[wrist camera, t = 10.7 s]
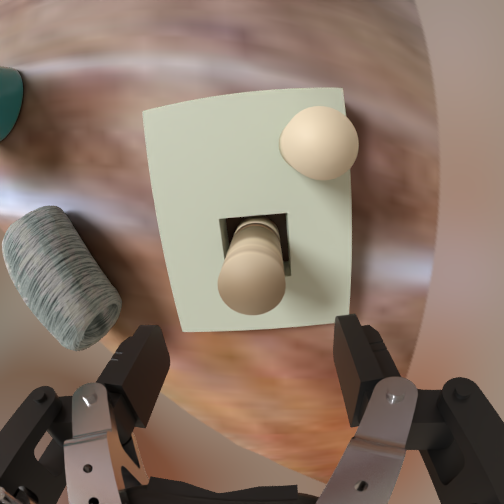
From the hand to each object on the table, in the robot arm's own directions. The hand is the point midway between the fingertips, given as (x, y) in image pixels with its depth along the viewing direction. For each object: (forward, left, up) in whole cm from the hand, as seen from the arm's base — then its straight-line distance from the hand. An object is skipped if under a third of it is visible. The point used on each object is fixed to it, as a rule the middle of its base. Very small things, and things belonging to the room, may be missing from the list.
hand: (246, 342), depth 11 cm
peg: (0, 0, -14) cm, 14 cm away
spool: (+1, -18, -14) cm, 23 cm away
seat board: (-2, 0, -14) cm, 14 cm away
